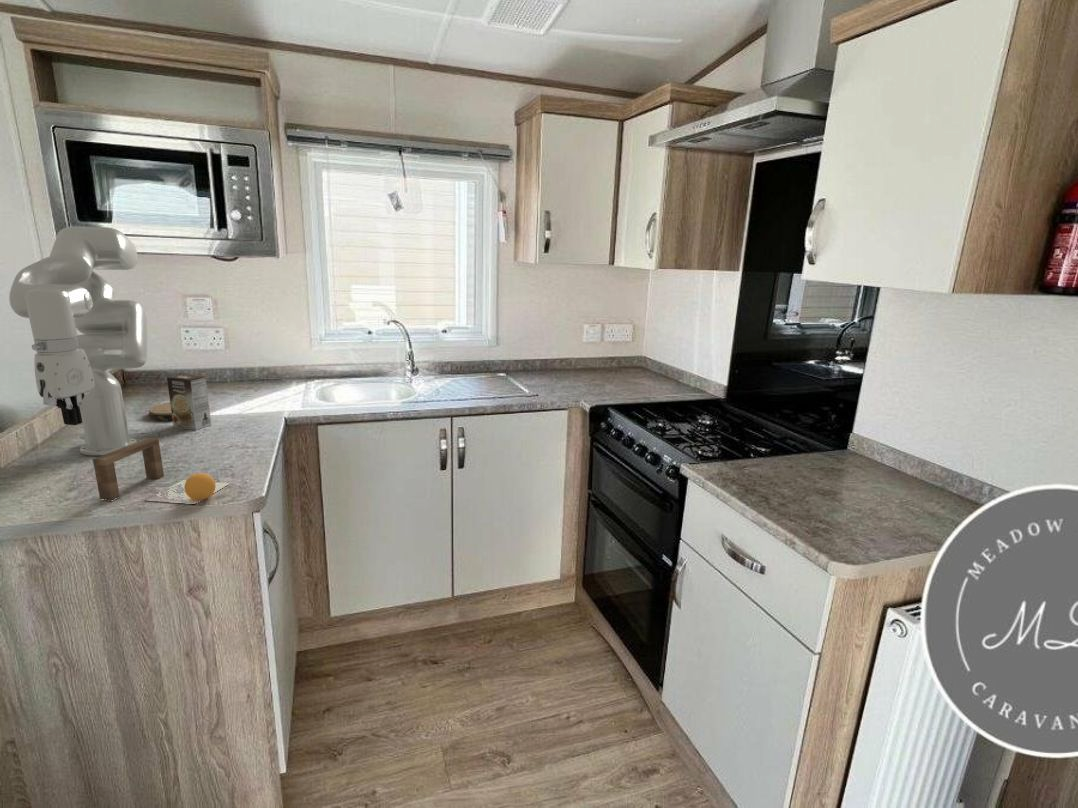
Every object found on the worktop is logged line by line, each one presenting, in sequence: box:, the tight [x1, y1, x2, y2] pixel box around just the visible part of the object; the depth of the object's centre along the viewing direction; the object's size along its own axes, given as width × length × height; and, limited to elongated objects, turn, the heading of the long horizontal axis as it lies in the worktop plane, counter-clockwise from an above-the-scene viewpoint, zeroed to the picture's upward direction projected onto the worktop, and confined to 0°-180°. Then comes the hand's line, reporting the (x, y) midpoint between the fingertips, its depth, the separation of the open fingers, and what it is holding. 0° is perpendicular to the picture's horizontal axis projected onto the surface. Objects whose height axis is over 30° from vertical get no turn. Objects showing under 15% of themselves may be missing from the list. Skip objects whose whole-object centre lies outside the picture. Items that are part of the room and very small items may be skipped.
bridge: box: [92, 437, 165, 500], centre depth 132 cm, size 3×15×10 cm, turn 172°
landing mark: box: [155, 479, 231, 504], centre depth 132 cm, size 12×12×1 cm
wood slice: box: [148, 401, 173, 422], centre depth 191 cm, size 16×16×3 cm
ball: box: [184, 472, 216, 501], centre depth 128 cm, size 6×6×6 cm
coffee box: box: [166, 372, 212, 431], centre depth 178 cm, size 9×6×16 cm
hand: (73, 423), depth 132 cm, fingers closed
